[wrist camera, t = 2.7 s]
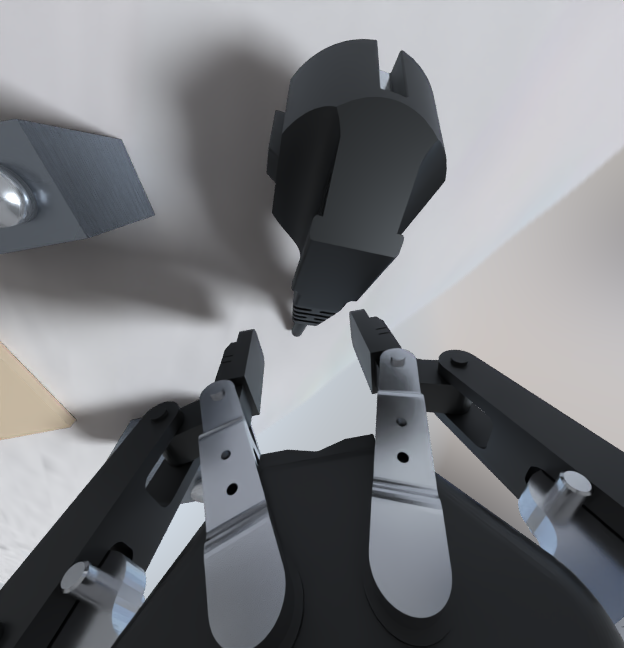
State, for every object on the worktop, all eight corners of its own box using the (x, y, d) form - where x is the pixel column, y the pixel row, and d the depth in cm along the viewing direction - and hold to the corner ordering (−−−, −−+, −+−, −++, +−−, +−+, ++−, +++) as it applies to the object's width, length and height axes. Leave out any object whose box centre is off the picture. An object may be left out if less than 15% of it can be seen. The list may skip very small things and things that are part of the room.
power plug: (249, 337, 15) (259, 128, 5) (265, 237, 18) (294, -40, 7) (339, 349, 16) (520, 203, 6) (340, 252, 19) (463, 32, 8)
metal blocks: (-66, 173, 11) (-344, 175, 6) (121, 139, 11) (-7, 114, 6) (150, 444, 21) (110, 527, 16) (248, 426, 21) (237, 503, 16)
